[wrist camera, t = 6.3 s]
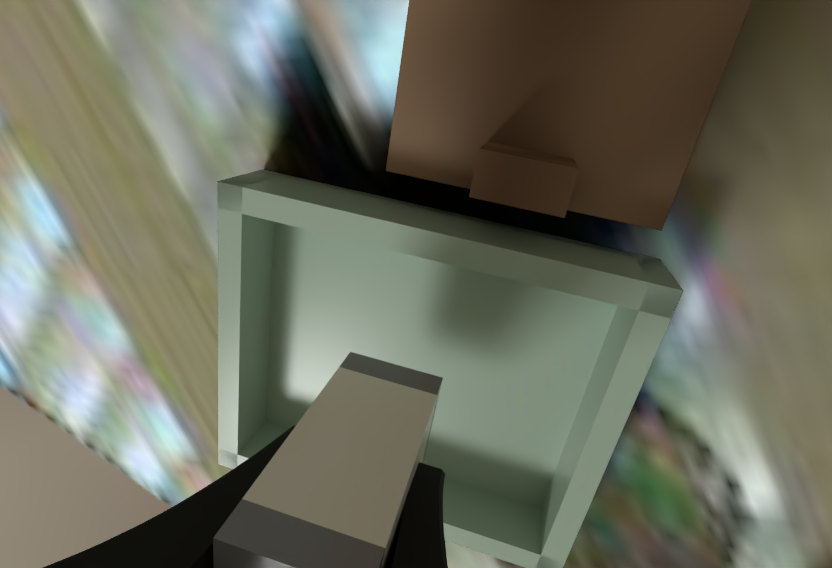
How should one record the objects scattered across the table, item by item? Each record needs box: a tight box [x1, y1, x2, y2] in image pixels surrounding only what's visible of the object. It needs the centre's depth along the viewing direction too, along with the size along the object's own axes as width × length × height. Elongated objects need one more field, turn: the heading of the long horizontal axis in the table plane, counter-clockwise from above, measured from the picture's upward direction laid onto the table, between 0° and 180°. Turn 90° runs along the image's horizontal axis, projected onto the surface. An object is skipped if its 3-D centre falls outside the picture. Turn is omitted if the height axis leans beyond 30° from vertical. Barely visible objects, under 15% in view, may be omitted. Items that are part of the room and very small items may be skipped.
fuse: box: [213, 352, 443, 568], centre depth 11 cm, size 3×4×6 cm, turn 171°
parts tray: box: [218, 170, 683, 568], centre depth 16 cm, size 13×11×2 cm
